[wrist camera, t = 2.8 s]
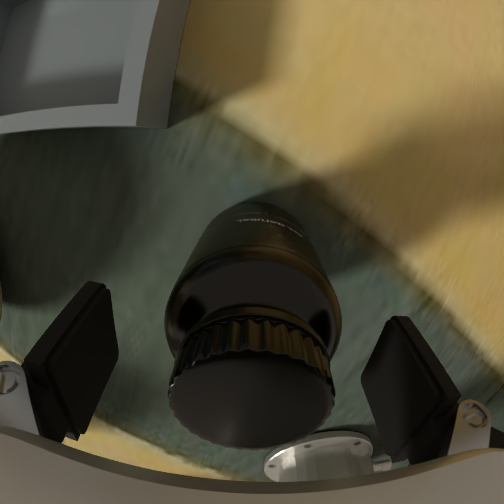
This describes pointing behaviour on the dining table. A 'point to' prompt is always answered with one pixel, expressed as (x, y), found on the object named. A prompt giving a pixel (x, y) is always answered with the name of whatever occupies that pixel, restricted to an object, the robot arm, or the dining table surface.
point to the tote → (88, 63)
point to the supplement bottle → (252, 332)
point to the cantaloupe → (0, 301)
